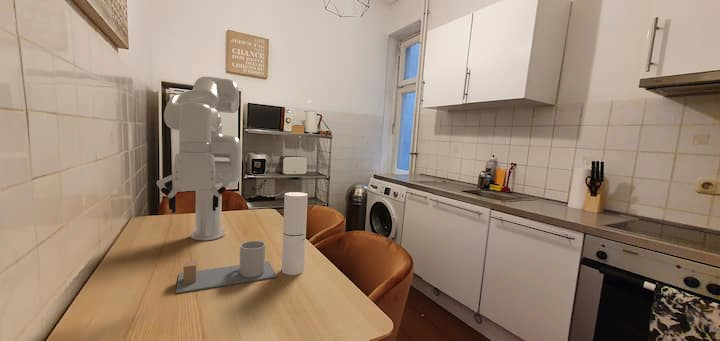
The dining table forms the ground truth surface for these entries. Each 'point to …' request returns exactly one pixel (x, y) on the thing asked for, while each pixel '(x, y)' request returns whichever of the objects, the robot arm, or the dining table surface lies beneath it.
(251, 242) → the cup
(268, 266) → the strip
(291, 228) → the cylindrical container
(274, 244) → the dining table surface
